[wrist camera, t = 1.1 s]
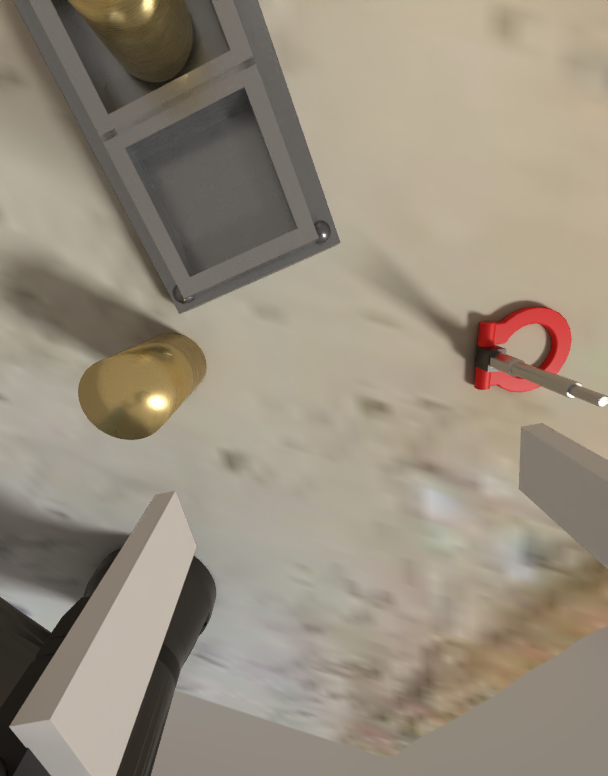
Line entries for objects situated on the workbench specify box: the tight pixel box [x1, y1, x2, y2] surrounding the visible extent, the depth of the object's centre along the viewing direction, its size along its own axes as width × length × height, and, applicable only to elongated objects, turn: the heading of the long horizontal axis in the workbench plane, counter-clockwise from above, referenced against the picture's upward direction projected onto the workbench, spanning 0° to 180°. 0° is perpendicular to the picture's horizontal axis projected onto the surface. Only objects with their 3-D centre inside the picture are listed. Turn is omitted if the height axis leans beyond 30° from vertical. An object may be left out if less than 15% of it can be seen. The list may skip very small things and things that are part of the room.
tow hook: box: [474, 307, 608, 407], centre depth 26 cm, size 8×13×9 cm
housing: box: [13, 0, 340, 314], centre depth 20 cm, size 15×24×12 cm, turn 22°
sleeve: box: [78, 333, 206, 440], centre depth 27 cm, size 6×6×10 cm
